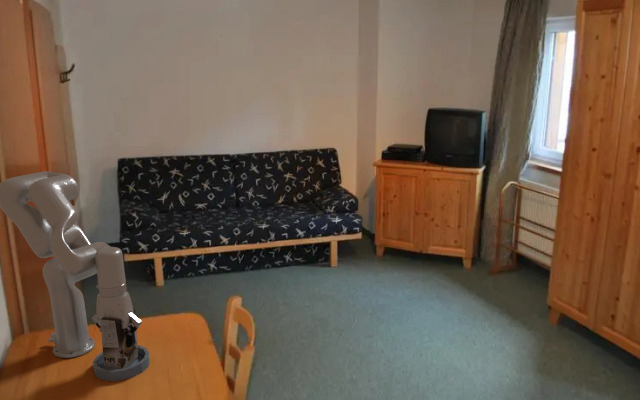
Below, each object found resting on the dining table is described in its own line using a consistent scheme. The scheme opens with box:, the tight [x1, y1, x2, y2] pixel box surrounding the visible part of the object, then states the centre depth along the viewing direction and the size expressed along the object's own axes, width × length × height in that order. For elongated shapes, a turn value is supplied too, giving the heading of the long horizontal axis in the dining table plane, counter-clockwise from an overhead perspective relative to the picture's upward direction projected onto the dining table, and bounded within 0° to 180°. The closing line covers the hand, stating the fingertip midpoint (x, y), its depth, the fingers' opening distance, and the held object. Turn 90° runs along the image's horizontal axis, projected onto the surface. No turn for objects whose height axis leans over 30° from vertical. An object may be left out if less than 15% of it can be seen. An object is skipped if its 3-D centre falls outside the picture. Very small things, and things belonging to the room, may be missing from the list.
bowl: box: [92, 344, 151, 382], centre depth 172 cm, size 16×16×3 cm
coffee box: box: [100, 308, 138, 370], centre depth 170 cm, size 9×6×16 cm
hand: (119, 343), depth 170 cm, fingers open, 7 cm apart
